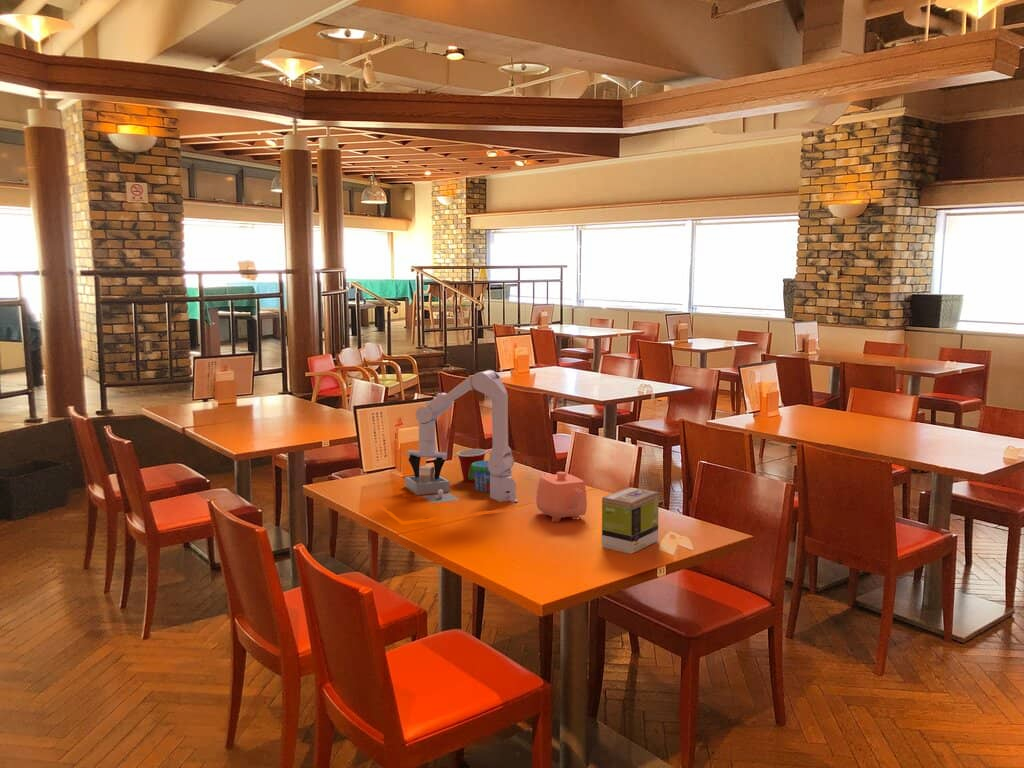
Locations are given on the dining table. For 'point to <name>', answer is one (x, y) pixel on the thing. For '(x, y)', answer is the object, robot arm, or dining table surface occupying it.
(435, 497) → the stud block
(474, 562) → the dining table surface
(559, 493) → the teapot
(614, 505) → the tea box
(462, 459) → the plastic cup
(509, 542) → the dining table surface
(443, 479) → the bin
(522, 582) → the dining table surface
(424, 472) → the strut
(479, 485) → the snack cup
